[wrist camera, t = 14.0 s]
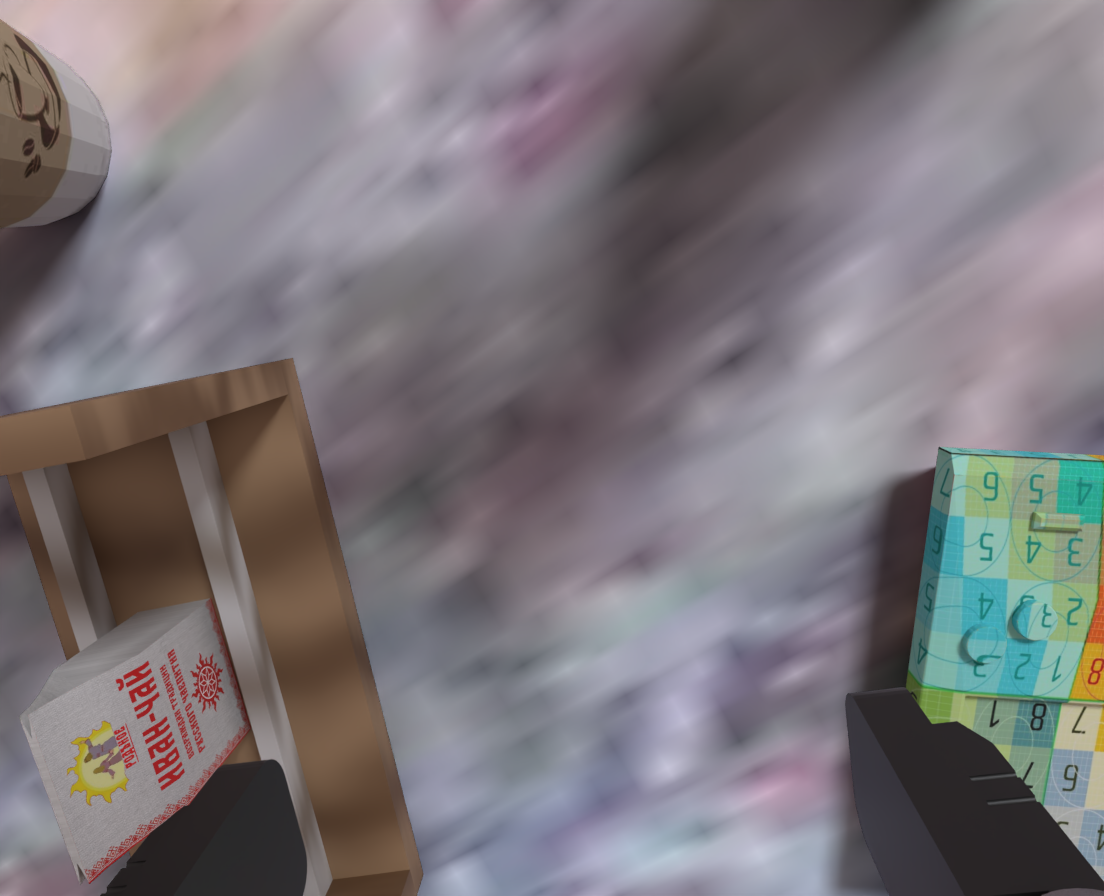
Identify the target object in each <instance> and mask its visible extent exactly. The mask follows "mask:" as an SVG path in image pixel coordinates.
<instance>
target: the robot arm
mask: <svg viewBox="0 0 1104 896" xmlns="http://www.w3.org/2000/svg"><path fill="white" fill-rule="evenodd" d="M845 706H846V718H847V728H848V738H849V748H850V757H851V767H852V777H853V787H854V796H855V802H856V808H857V813H858V817H859V821H860V825H861V828H862V832H863V835H864V838H865V841H866V844H867V846H868V848H869V851H870V853H871V855H872V858H873V860H874V862H875V864H876V866H877V869H878V871H879V873H880V875H881V878H882V880H883V882H884V884H885V887H886V889H887V891H888V893H889V896H1104V881H1103V880H1102V879H1101V877H1100V876H1099V875H1098V874H1097V872H1096V871H1095V870H1094V869H1093V867H1092V866H1091V865H1090V864H1089V862H1088V861H1087V860H1086V859H1085V857H1084V856H1083V855H1082V854H1081V852H1080V851H1079V850H1078V849H1077V847H1076V846H1075V845H1074V844H1073V842H1072V841H1071V840H1070V839H1069V837H1068V836H1067V835H1066V834H1065V832H1064V831H1063V830H1062V829H1061V827H1060V826H1059V825H1058V824H1057V822H1056V821H1055V820H1054V819H1053V817H1052V816H1051V815H1050V814H1049V812H1048V811H1047V810H1046V809H1045V807H1044V806H1043V805H1042V804H1041V802H1037V801H1036V798H1035V795H1034V794H1033V792H1032V791H1031V790H1030V789H1029V787H1028V786H1027V785H1026V784H1025V782H1024V781H1023V780H1022V779H1021V777H1017V775H1016V771H1015V770H1014V769H1013V767H1012V766H1011V765H1010V764H1009V762H1008V761H1007V760H1006V759H1005V758H1004V756H1003V755H1002V754H1001V753H1000V751H999V750H998V749H997V748H996V746H995V745H994V744H993V743H992V742H990V741H989V740H987V739H985V738H984V737H982V736H980V735H979V734H977V733H976V732H974V731H972V730H971V729H969V728H967V727H966V726H964V725H963V724H961V723H959V722H958V721H954V722H945V723H936V724H932V723H931V722H930V720H929V719H928V718H927V716H926V715H925V713H924V712H923V711H922V709H921V708H920V706H919V705H918V703H917V702H916V701H915V699H914V698H913V696H912V695H911V693H910V692H909V691H908V690H907V689H906V688H905V687H899V688H891V689H882V690H874V691H865V692H856V693H848V694H847V695H846V702H845ZM306 879H307V856H306V850H305V846H304V842H303V839H302V835H301V831H300V828H299V824H298V820H297V817H296V813H295V810H294V806H293V802H292V799H291V795H290V792H289V788H288V784H287V781H286V777H285V774H284V771H283V769H282V767H281V765H280V764H279V763H278V762H277V761H276V760H274V759H269V760H260V761H252V762H243V763H235V764H226V765H222V766H220V767H219V768H217V770H216V771H215V772H214V773H213V774H212V776H211V777H210V778H209V780H208V781H207V782H206V783H205V785H204V786H203V787H202V789H201V790H200V791H199V793H198V794H197V795H196V796H195V798H194V799H193V800H192V802H191V803H190V804H189V805H186V806H183V807H182V808H181V809H180V810H178V811H177V812H176V813H175V814H173V815H172V816H171V817H170V818H168V819H167V820H166V821H165V822H163V823H162V824H161V825H159V826H158V827H157V828H156V829H154V830H153V831H152V832H151V833H150V834H149V835H148V836H147V838H146V839H145V840H144V841H143V843H142V844H141V845H140V846H139V848H138V849H137V850H136V851H135V853H134V854H133V855H132V856H131V858H130V859H129V860H128V861H127V867H126V868H122V869H121V870H120V871H119V873H118V874H117V875H116V877H115V878H114V879H113V880H112V882H111V883H110V884H109V885H108V887H107V892H106V893H105V894H101V895H100V896H303V893H304V890H305V885H306Z"/></svg>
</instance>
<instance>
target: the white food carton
mask: <svg viewBox="0 0 1104 896" xmlns="http://www.w3.org/2000/svg"><path fill="white" fill-rule="evenodd" d="M19 718H20V721H21V723H22V726H23V729H24V732H25V734H26V737H27V740H28V743H29V745H30V748H31V751H32V754H33V756H34V759H35V762H36V765H37V767H38V770H39V773H40V776H41V778H42V781H43V784H44V786H45V789H46V792H47V795H48V797H49V800H50V803H51V806H52V808H53V811H54V814H55V817H56V819H57V822H58V825H59V828H60V830H61V833H62V836H63V839H64V841H65V844H66V847H67V850H68V852H69V855H70V858H71V861H72V863H73V866H74V869H75V872H76V874H77V877H78V880H79V883H80V885H81V884H82V882H83V881H84V879H85V878H86V879H87V881H88V882H89V884H90V883H91V882H92V881H93V880H94V879H96V878H97V877H98V876H99V875H100V874H101V873H102V872H103V871H104V870H105V869H106V868H108V867H109V866H110V865H111V864H113V863H114V862H115V861H116V860H118V859H119V858H120V857H121V856H123V855H124V854H125V853H126V852H128V851H129V850H130V849H131V848H133V847H134V846H135V845H137V844H138V843H139V842H141V841H142V840H143V839H145V838H146V837H147V836H148V835H149V834H150V833H151V832H152V831H153V830H154V829H156V828H157V827H158V826H159V825H161V824H162V823H163V822H165V821H166V820H167V819H168V818H170V817H171V816H172V815H173V814H175V813H176V812H177V811H178V810H180V809H181V808H182V807H183V806H186V805H189V804H190V803H191V802H192V800H193V799H194V798H195V796H196V795H197V794H198V793H199V791H200V790H201V789H202V787H203V786H204V785H205V783H206V782H207V781H208V780H209V778H210V777H211V776H212V774H213V773H214V772H215V771H216V770H217V768H219V767H220V766H221V765H222V764H223V763H224V761H225V760H226V759H227V758H228V756H229V755H230V754H231V753H232V752H233V750H234V749H235V748H236V747H237V745H238V744H239V743H240V742H241V740H242V739H243V738H244V737H245V735H246V734H247V733H248V732H249V730H250V729H251V726H250V723H249V720H248V717H247V713H246V710H245V707H244V704H243V700H242V697H241V694H240V691H239V687H238V684H237V681H236V678H235V675H234V671H233V668H232V665H231V662H230V658H229V655H228V652H227V649H226V645H225V642H224V639H223V636H222V633H221V629H220V626H219V623H218V620H217V616H216V613H215V610H214V607H213V603H212V600H211V598H209V599H204V600H199V601H194V602H188V603H183V604H178V605H173V606H167V607H162V608H157V609H152V610H147V611H141V612H137V613H136V614H135V615H133V616H132V617H130V618H129V619H127V620H126V621H124V622H123V623H121V624H120V625H119V626H117V627H116V628H114V629H113V630H111V631H110V632H108V633H107V634H105V635H104V636H103V637H101V638H100V639H98V640H97V641H95V642H94V643H92V644H91V645H89V646H88V647H86V648H85V649H84V650H82V651H81V652H79V653H78V654H76V655H75V656H73V657H72V658H70V659H69V660H68V661H66V662H65V663H63V664H62V665H60V666H59V667H57V668H56V669H54V670H53V671H52V673H51V675H50V677H49V678H48V680H47V682H46V683H45V685H44V687H43V688H42V690H41V692H40V694H39V695H38V696H37V698H36V699H35V700H34V702H33V703H32V704H31V705H30V707H29V708H28V709H27V710H25V711H24V712H23V713H22V714H21V715H20V716H19Z"/></svg>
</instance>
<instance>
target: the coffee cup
mask: <svg viewBox="0 0 1104 896" xmlns="http://www.w3.org/2000/svg"><path fill="white" fill-rule="evenodd" d="M111 151H112V150H111V141H110V132H109V124H108V122H107V119H106V117H105V114H104V112H103V110H102V107H101V105H100V102H99V100H98V98H97V97H96V96H95V95H94V93H93V92H92V91H91V89H90V88H89V87H88V86H87V84H86V83H85V82H84V81H83V79H82V78H81V77H79V76H78V75H77V74H76V72H75V71H74V70H73V69H72V67H71V66H69V65H68V64H66V63H65V62H64V61H62V60H61V59H59V58H58V57H57V56H55V55H54V54H52V53H51V52H50V51H48V50H47V49H45V48H44V47H42V46H40V45H39V44H37V43H36V42H34V41H33V40H31V39H30V38H28V37H27V36H25V35H24V34H22V33H20V32H19V31H17V30H16V29H14V28H13V27H11V26H10V25H8V24H7V23H5V22H3V21H2V20H0V228H10V227H26V226H41V225H46V224H49V223H52V222H54V221H57V220H60V219H62V218H65V217H67V216H70V215H73V214H75V213H78V212H79V211H80V210H81V209H83V208H84V207H85V206H86V205H87V204H88V203H89V202H90V201H91V200H93V199H94V198H95V197H96V195H97V193H98V191H99V190H100V188H101V186H102V184H103V182H104V180H105V179H106V177H107V173H108V168H109V162H110V157H111Z"/></svg>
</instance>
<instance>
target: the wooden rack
mask: <svg viewBox="0 0 1104 896" xmlns="http://www.w3.org/2000/svg"><path fill="white" fill-rule="evenodd" d="M2 475H7V478H8V481H9V484H10V487H11V491H12V494H13V497H14V500H15V503H16V506H17V509H18V512H19V515H20V518H21V521H22V524H23V527H24V530H25V533H26V537H27V540H28V543H29V546H30V549H31V552H32V555H33V558H34V561H35V564H36V567H37V570H38V573H39V576H40V580H41V583H42V586H43V589H44V592H45V595H46V598H47V601H48V604H49V607H50V610H51V613H52V616H53V619H54V622H55V626H56V629H57V632H58V635H59V638H60V641H61V644H62V647H63V650H64V653H65V656H66V659H67V661H68V660H69V659H70V658H72V657H73V656H75V655H76V654H78V653H79V652H81V651H82V650H84V649H85V648H86V647H88V646H89V645H91V644H92V643H94V642H95V641H97V640H98V639H100V638H101V637H103V636H104V635H105V634H107V633H108V632H110V631H111V630H113V629H114V628H116V627H117V626H119V625H120V624H121V623H123V622H124V621H126V620H127V619H129V618H130V617H132V616H133V615H135V614H136V613H137V612H141V611H147V610H152V609H157V608H162V607H167V606H173V605H178V604H183V603H188V602H194V601H199V600H204V599H209V598H211V600H212V603H213V607H214V610H215V613H216V616H217V620H218V623H219V626H220V629H221V633H222V636H223V639H224V642H225V645H226V649H227V652H228V655H229V658H230V662H231V665H232V668H233V671H234V675H235V678H236V681H237V684H238V687H239V691H240V694H241V697H242V700H243V704H244V707H245V710H246V713H247V717H248V720H249V723H250V726H251V729H250V730H249V732H248V733H247V734H246V735H245V737H244V738H243V739H242V740H241V742H240V743H239V744H238V745H237V747H236V748H235V749H234V750H233V752H232V753H231V754H230V755H229V756H228V758H227V759H226V760H225V761H224V763H223V764H222V765H226V764H235V763H243V762H252V761H260V760H269V759H274V760H276V761H277V762H278V763H279V764H280V765H281V767H282V769H283V771H284V774H285V777H286V781H287V784H288V788H289V792H290V795H291V799H292V802H293V806H294V810H295V813H296V817H297V820H298V824H299V828H300V831H301V835H302V839H303V842H304V846H305V850H306V856H307V879H306V885H305V890H304V893H303V896H417V893H418V890H419V887H420V884H421V880H422V877H423V871H422V867H421V863H420V859H419V855H418V851H417V847H416V843H415V839H414V835H413V831H412V827H411V823H410V819H409V815H408V812H407V808H406V804H405V800H404V796H403V792H402V788H401V784H400V780H399V776H398V772H397V768H396V764H395V760H394V756H393V752H392V748H391V744H390V740H389V736H388V733H387V729H386V725H385V721H384V717H383V713H382V709H381V705H380V701H379V697H378V693H377V689H376V685H375V681H374V677H373V673H372V669H371V665H370V661H369V657H368V654H367V650H366V646H365V642H364V638H363V634H362V630H361V626H360V622H359V618H358V614H357V610H356V606H355V602H354V598H353V594H352V590H351V586H350V582H349V578H348V575H347V571H346V567H345V563H344V559H343V555H342V551H341V547H340V543H339V539H338V535H337V531H336V527H335V523H334V519H333V515H332V511H331V507H330V503H329V499H328V496H327V492H326V488H325V484H324V480H323V476H322V472H321V468H320V464H319V460H318V456H317V452H316V448H315V444H314V440H313V436H312V432H311V428H310V424H309V420H308V417H307V413H306V409H305V405H304V401H303V397H302V393H301V389H300V385H299V381H298V377H297V373H296V369H295V365H294V361H293V358H290V359H285V360H280V361H275V362H270V363H265V364H260V365H255V366H250V367H245V368H240V369H235V370H230V371H225V372H220V373H215V374H210V375H205V376H200V377H195V378H190V379H185V380H180V381H175V382H169V383H164V384H159V385H154V386H149V387H144V388H139V389H134V390H129V391H124V392H119V393H114V394H109V395H104V396H99V397H94V398H89V399H84V400H79V401H74V402H69V403H64V404H59V405H54V406H49V407H44V408H39V409H34V410H28V411H23V412H18V413H13V414H8V415H4V416H0V476H2ZM222 765H221V766H222ZM146 838H147V837H146ZM146 838H145V839H146ZM145 839H143V840H142V841H141V842H139V843H138V844H137V845H135V846H134V847H133V848H131V849H130V850H129V853H130V856H132V855H133V854H134V853H135V851H136V850H137V849H138V848H139V846H140V845H141V844H142V843H143V841H144V840H145Z"/></svg>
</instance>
